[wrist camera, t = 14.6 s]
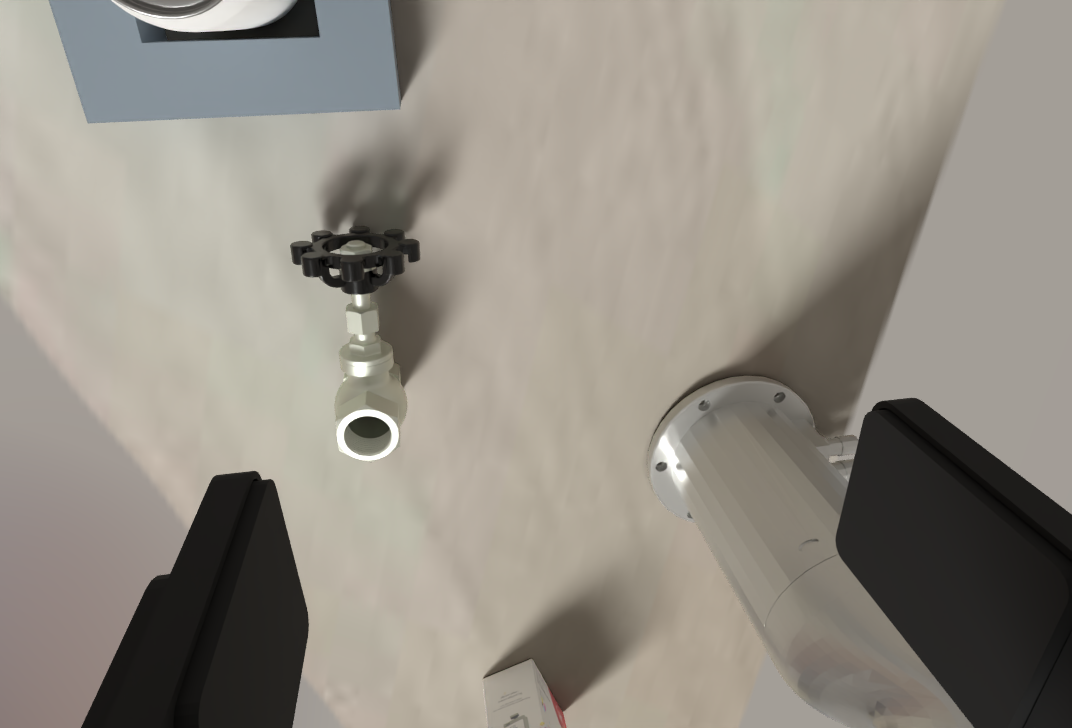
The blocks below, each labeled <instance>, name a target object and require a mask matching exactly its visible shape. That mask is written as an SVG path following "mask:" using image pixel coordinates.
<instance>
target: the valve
mask: <svg viewBox="0 0 1072 728" xmlns="http://www.w3.org/2000/svg"><path fill="white" fill-rule="evenodd" d="M311 236H312V243H311V242H309V241H297V242H294V243H292V244H291V245H290V248H291V255H292V262H293V263H294V264H296V265H302V270H303V275H304V276H306V277H319V278H320V280H321V281H323V282H324V283H325V284H327V285H329V286H331V287H335V288H339V287H341V290H342V291H343V292H344V293H347V294H351V297H352V303H350V304H348V305H347V307H346V318H347V328H348V333H353V334H354V336H353V337H351V338H350V343H348V344H346V345H344V346H343V347H342V348H341V349H340V351H339V357H340V365H341V369H342V371H343V372H344V373H345V374H344V382H343V383H342V384H341V386H340V388H339V389H338V392H337V394H336V397H335V404H334V405H335V415H336V421H335V422H336V432H337V441H338V447H339V451H341V452H343V453H345V454H347V455H349V456H351V457H354V458H356V459H360V460H363V461H367V462H374V461H376V460H378V459H380V458H382V457H384V456H386V455H388V454H389V453H391V452H393V451H394V450H396V449H397V448H398V447H400V426H401V424H402V423H403V421H404V419H405V416H406V412H407V397H406V393H405V391H404V388H403V387H402V385H401V376H400V365H398V364H396V363H394V359H393V348H392V346H391V345H390V344H389V343H387V342H385V341H382V340H381V337H380V336H379V335H376V334H375V332H378V331H379V313H378V304H377V303H374V302H371V300H370V293H372V292H375V291H376V290H377V289H378V287H379V286H383V285H385V284H387V283H389V282H390V281H392V279H393V278H394V276H395V275H399V274H402V273H403V272H404V271H405V268H404V254H408V259H409V262H416V261H419V260H420V245H419V241H418V240H415V239H405V233H404V231H402V230H399V229H391V230H387V231H385V232H384V234H373V233H370V229H369V228H368V227H366V226H355V227H351V228H350V229H349V233H348V234H340V235H334V234H333V233H332V232H330V231H325V230H322V231H315V232H313V233H312V234H311ZM372 247H376V248H380V249H383V250H381V251H377V252H372ZM340 248H341V249H340ZM336 249H340V254H335V253H330V251H333V250H336ZM379 266H383V274H382V275H380V274H378V273H377V267H379ZM329 268H333V269H339V274H340V275H337V276H331V275H330V272H329Z"/></svg>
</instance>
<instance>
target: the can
mask: <svg viewBox="0 0 1072 728" xmlns="http://www.w3.org/2000/svg"><path fill="white" fill-rule="evenodd" d="M111 1H112V2H114V3H115V4H116V5H118V6H119V7H120V8H122V9H123V10H125V11H126V12H128V13H129V14H131V15H133V16H135V17H136V18H138V19H140V20H142V21H145V22H147V23H149V24H152V25H155V26H158V27H161V28H165V29H169V30H174V31H182V32H211V31H227V30H241V29H251V28H258V27H262V26H266V25H269V24H271V23H274V22H276V21H277V20H279V19H281V18H282V17H283V16H285V15H286V14H287V13H288V12H289V11H290V10H291V9H292V8H293V6H294V5H295V4H296V2H297V1H298V0H111Z"/></svg>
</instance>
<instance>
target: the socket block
mask: <svg viewBox="0 0 1072 728" xmlns="http://www.w3.org/2000/svg"><path fill="white" fill-rule="evenodd" d="M314 1H315V8H316V14H317V21H318V27H319V33H320V36H297V37H264V38H231V39H198V40H167V37H166V33H165V29H164V28H161V27H158V26H155V25H152V24H149V23H147V22H145V21H142V20H140V19H138V18H136V17H135V16H133V15H131V14H129V13H128V12H126V11H125V10H123V9H122V8H120V7H119V6H118V5H116V4H115V3H114V2H112V1H111V0H49V3H50V6H51V9H52V12H53V15H54V19H55V22H56V25H57V28H58V31H59V34H60V37H61V41H62V44H63V47H64V50H65V53H66V56H67V59H68V63H69V66H70V69H71V72H72V75H73V78H74V81H75V85H76V88H77V91H78V94H79V97H80V100H81V103H82V107H83V110H84V113H85V116H86V119H87V122H88V123H106V122H128V121H151V120H173V119H195V118H217V117H240V116H262V115H284V114H306V113H329V112H351V111H373V110H395V109H400V106H401V95H400V85H399V76H398V67H397V58H396V49H395V40H394V31H393V22H392V13H391V4H390V0H314Z"/></svg>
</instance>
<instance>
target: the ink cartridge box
mask: <svg viewBox="0 0 1072 728" xmlns="http://www.w3.org/2000/svg"><path fill="white" fill-rule="evenodd" d="M482 682H483V692H484V701H485V710H486V719H487V728H566V724H565V719H564V715H563V712H562V711H561V709H560V707H559V705H558V704H557V702H556V700H555V698H554V696H553V695H552V693H551V691H550V689H549V687H548V686H547V684H546V682H545V680H544V679H543V677H542V675H541V673H540V672H539V670H538V668H537V666H536V664H535V663H534V661H533V659H529V660H527V661H525V662H522V663H520V664H517V665H515V666H513V667H510V668H508V669H505V670H503V671H501V672H498V673H496V674H493V675H491V676H489V677H486V678H484V679H483V681H482Z"/></svg>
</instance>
